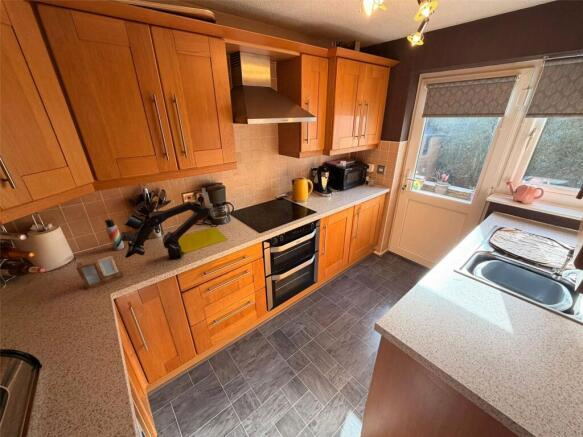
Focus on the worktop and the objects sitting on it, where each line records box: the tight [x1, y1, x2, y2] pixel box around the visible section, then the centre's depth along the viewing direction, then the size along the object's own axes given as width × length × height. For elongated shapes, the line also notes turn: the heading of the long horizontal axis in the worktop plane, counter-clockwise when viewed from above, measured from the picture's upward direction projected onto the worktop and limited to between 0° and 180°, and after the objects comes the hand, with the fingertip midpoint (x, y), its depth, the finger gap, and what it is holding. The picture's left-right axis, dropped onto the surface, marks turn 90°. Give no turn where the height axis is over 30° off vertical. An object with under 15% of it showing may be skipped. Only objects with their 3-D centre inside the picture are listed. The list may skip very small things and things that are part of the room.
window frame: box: [76, 261, 122, 290], centre depth 115 cm, size 14×5×13 cm, turn 128°
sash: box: [96, 255, 119, 277], centre depth 118 cm, size 6×1×10 cm, turn 128°
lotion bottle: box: [104, 218, 125, 251], centre depth 142 cm, size 6×6×20 cm
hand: (126, 257), depth 122 cm, fingers closed
